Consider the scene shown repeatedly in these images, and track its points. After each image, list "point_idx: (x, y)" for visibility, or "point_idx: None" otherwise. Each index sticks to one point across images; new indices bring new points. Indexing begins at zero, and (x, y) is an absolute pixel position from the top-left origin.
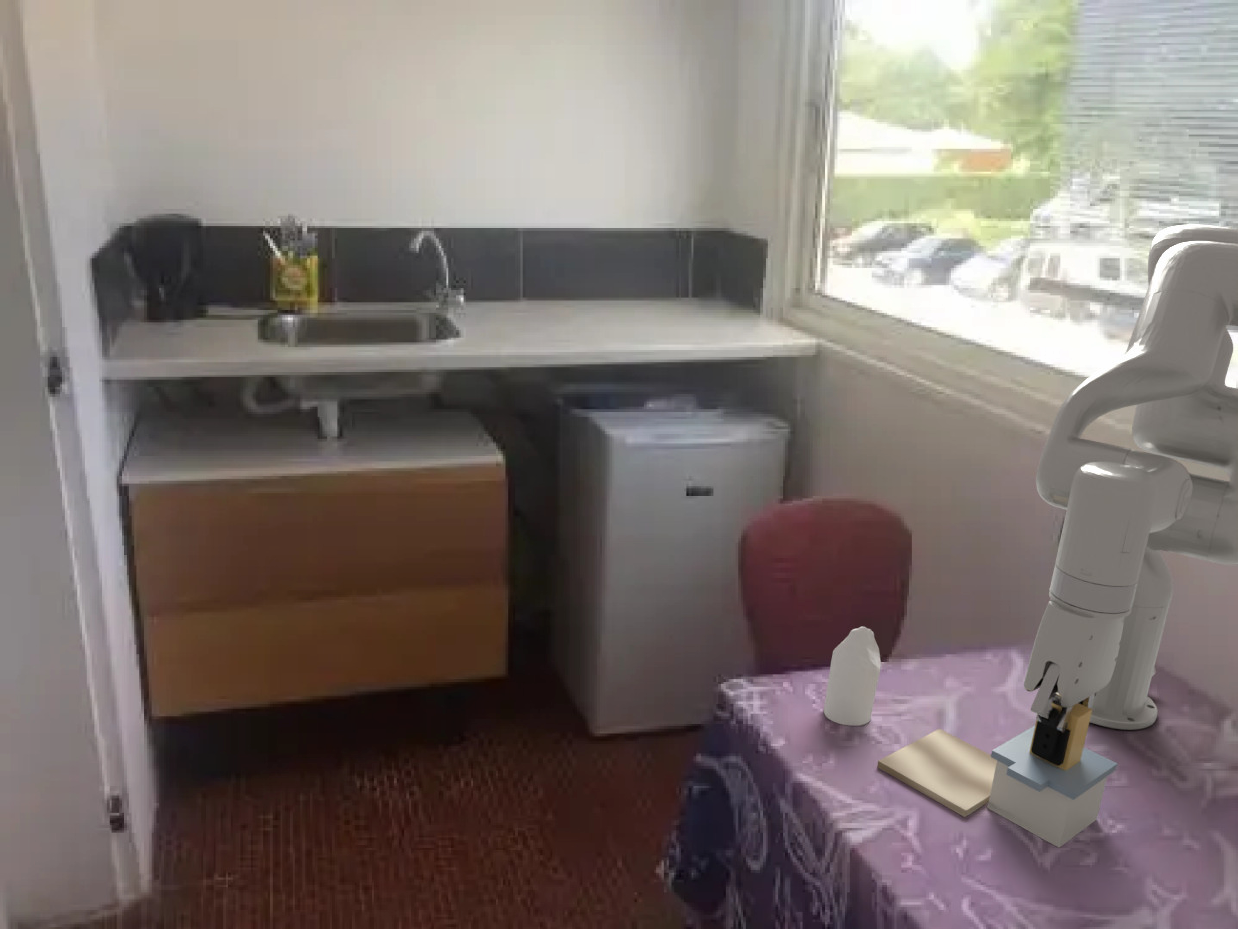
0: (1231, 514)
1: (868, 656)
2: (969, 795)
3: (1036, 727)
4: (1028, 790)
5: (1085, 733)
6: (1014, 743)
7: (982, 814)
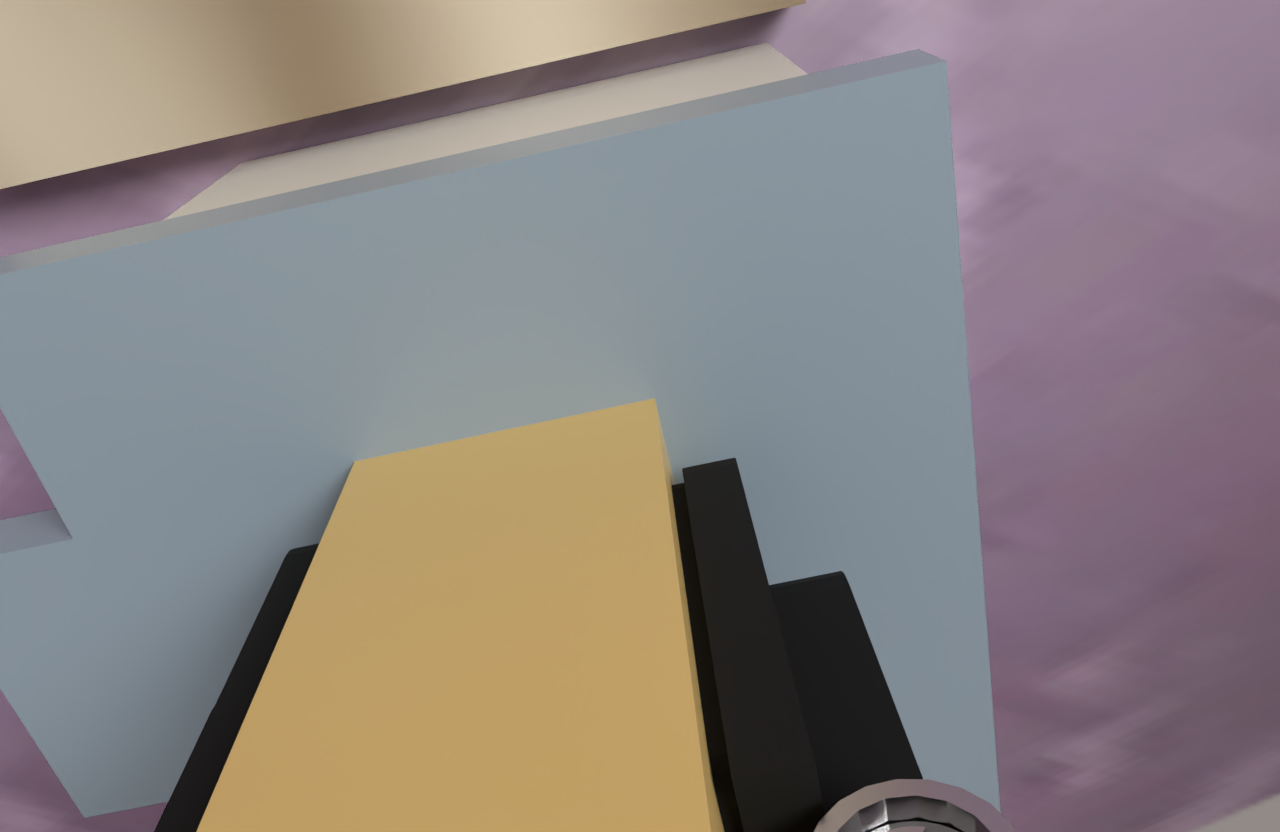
0: None
1: None
2: (119, 57)
3: (195, 761)
4: None
5: None
6: (320, 276)
7: (162, 200)
